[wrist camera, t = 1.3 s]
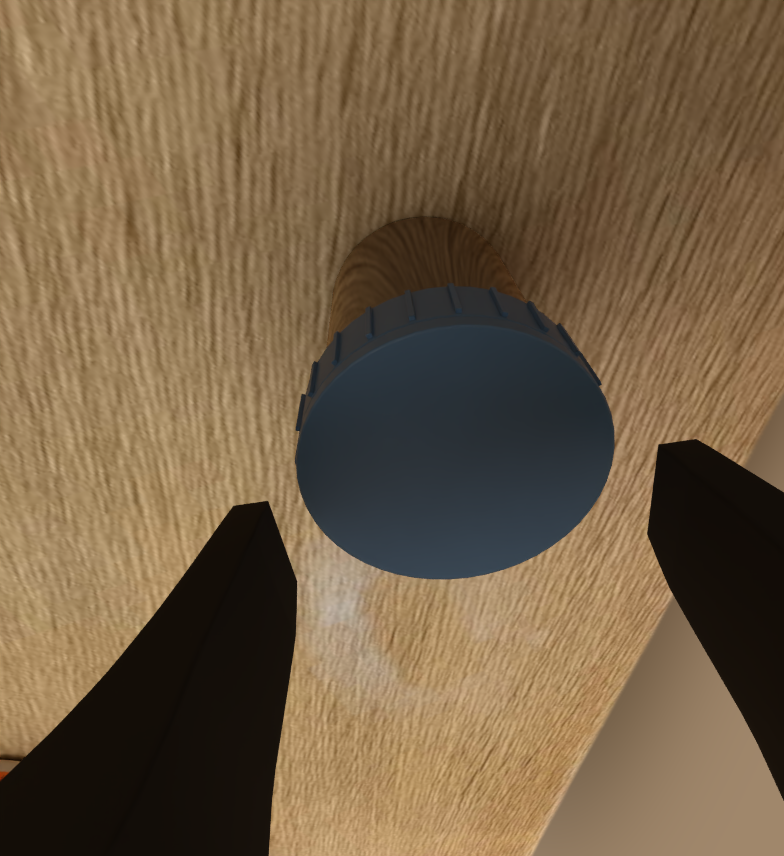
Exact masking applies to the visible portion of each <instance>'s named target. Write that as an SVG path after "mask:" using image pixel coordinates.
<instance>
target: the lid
mask: <svg viewBox="0 0 784 856" xmlns="http://www.w3.org/2000/svg"><path fill="white" fill-rule="evenodd" d="M600 385H602V384H601V381H600V380H599V378H598V377H597V375H596V374H595V372H594V371H593V369H592V368H591V366H590V365H589V363H588V362H587V360H586V359H585V357H584V356H583V354H582V353H581V352H580V351H579V349H578V348H577V346H576V345H575V343H574V342H573V340H572V339H571V337H570V336H569V334H568V333H567V331H566V330H565V328H564V327H563V326H562V325H561V323H559V324H558V325H556V324H555V323H553V322H552V321H551V320H550V319H549V318H548V317H547V316H545V315H544V314H543V313H541V312H540V311H538V309H537V308H536V306H535V305H534V303H533V302H531V301H528V303H525V302H523V301H521V300H519V299H516V298H514V297H512V296H509V295H506V294H503V293H499V292H498V291H497V289H496V288H494V287H490V290H488V289H481V288H475V287H459V286H454V284H453V283H448V285H447V287H437V288H428V289H424V290H419V291H415V292H411V291H410V290H406V291H405V294H404V295H401V296H398V297H396V298H393V299H390V300H388V301H386V302H384V303H382V304H380V305H378V306H376V307H374V308H371V307H370V306H369V307H367V308H366V309H365V313H364V314H363V315H361V316H360V317H358V318H357V319H355V320H354V321H352V322H351V323H350V324H349V325H348V326H347V327H346V328H345V329H344V330H342V331H341V332H340V333H339V332H338V331H336V333H335V334H334V337H333V341H332V342H331V343H330V345H329V346H328V347H327V348H326V350H325V351H324V353H323V355H322V356H321V358H320V359H319V361H318V362H315V361H314V362H313V364H312V369H311V375H310V380H309V384H308V388H307V391H306V395H305V394H302V395H301V401H300V407H299V413H298V419H297V424H296V431H299V438H298V444H297V450H296V456H295V464H296V469H297V479H298V484H299V488H300V493H301V495H302V498H303V500H304V502H305V505H306V507H307V509H308V511H309V513H310V514H311V516H312V518H313V519H314V521H315V522H316V524H317V525H318V526H319V527H320V529H321V530H322V531H323V532H324V533H325V535H326V536H328V537H329V538H330V539H331V540H332V541H333V542H334V543H335V544H336V545H337V546H339V547H340V548H341V549H343V550H344V551H346V552H347V553H348V554H350V555H351V556H353V557H355V558H357V559H359V560H360V561H362V562H364V563H366V564H369V565H371V566H373V567H376V568H378V569H381V570H384V571H388V572H391V573H394V574H398V575H403V576H408V577H414V578H424V579H459V578H469V577H475V576H480V575H486V574H489V573H493V572H497V571H500V570H504V569H507V568H509V567H512V566H515V565H517V564H520V563H522V562H524V561H526V560H528V559H530V558H532V557H535V556H537V555H538V554H540V553H542V552H543V551H545V550H546V549H548V548H550V547H551V546H553V545H554V544H555V543H557V542H558V541H559V540H561V539H562V538H563V537H565V536H566V535H567V534H568V533H569V532H570V531H571V530H572V529H574V528H575V527H576V526H577V525H578V524H579V523H580V522H581V520H582V519H583V518H584V517H585V516H586V515H587V513H588V512H589V511H590V510H591V508H592V507H593V505H594V504H595V502H596V501H597V499H598V497H599V496H600V494H601V492H602V490H603V488H604V486H605V483H606V481H607V478H608V475H609V472H610V469H611V466H612V460H613V454H614V426H613V420H612V415H611V412H610V409H609V406H608V403H607V401H606V398H605V396H604V394H603V393H602V391H601V389H600V387H599V386H600Z"/></svg>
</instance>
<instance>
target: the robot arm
mask: <svg viewBox="0 0 784 856" xmlns="http://www.w3.org/2000/svg"><path fill="white" fill-rule="evenodd" d="M647 535H648V537H649V540H650V542H651V545H652V547H653V550H654V552H655V555H656V557H657V560H658V562H659V565H660V567H661V569H662V572H663V574H664V576H665V579H666V581H667V583H668V586H669V588H670V590H671V591H672V593H673V595H674V597H675V599H676V600H677V602H678V604H679V606H680V607H681V609H682V611H683V613H684V615H685V616H686V618H687V620H688V621H689V623H690V625H691V627H692V628H693V630H694V632H695V634H696V635H697V637H698V639H699V641H700V642H701V644H702V646H703V648H704V649H705V651H706V653H707V655H708V656H709V658H710V659H711V661H712V663H713V665H714V666H715V668H716V670H717V672H718V673H719V675H720V677H721V679H722V680H723V682H724V684H725V686H726V687H727V689H728V691H729V692H730V694H731V696H732V698H733V699H734V701H735V703H736V705H737V706H738V708H739V710H740V711H741V713H742V715H743V717H744V719H745V721H746V723H747V724H748V726H749V728H750V730H751V732H752V734H753V736H754V738H755V740H756V742H757V744H758V746H759V748H760V750H761V752H762V754H763V757H764V758H765V761H766V763H767V765H768V767H769V770H770V772H771V774H772V776H773V778H774V780H775V783H776V785H777V787H778V789H779V791H780V794H781V796H782V798H783V800H784V492H782V491H780V490H779V489H777V488H776V487H774V486H772V485H771V484H769V483H767V482H766V481H764V480H763V479H761V478H759V477H758V476H756V475H755V474H753V473H751V472H750V471H748V470H746V469H745V468H743V467H742V466H740V465H738V464H737V463H735V462H734V461H732V460H730V459H729V458H727V457H726V456H724V455H722V454H721V453H719V452H717V451H716V450H714V449H712V448H711V447H709V446H707V445H706V444H704V443H702V442H700V441H699V440H697V439H694V440H687V441H680V442H673V443H666V444H659V445H658V452H657V460H656V468H655V476H654V484H653V492H652V500H651V508H650V516H649V524H648V532H647ZM296 614H297V580H296V577H295V574H294V572H293V569H292V566H291V563H290V560H289V558H288V555H287V552H286V549H285V547H284V544H283V541H282V538H281V535H280V533H279V530H278V527H277V524H276V521H275V519H274V516H273V513H272V510H271V508H270V505H269V502H268V501H264V502H257V503H250V504H243V505H236V506H233V507H232V509H231V510H230V511H229V513H228V514H227V515H226V517H225V518H224V519H223V521H222V522H221V524H220V525H219V526H218V528H217V529H216V531H215V532H214V533H213V535H212V536H211V538H210V539H209V540H208V542H207V543H206V545H205V546H204V548H203V549H202V550H201V552H200V553H199V555H198V556H197V557H196V559H195V560H194V562H193V563H192V564H191V566H190V567H189V569H188V570H187V571H186V573H185V574H184V576H183V577H182V578H181V580H180V581H179V582H178V584H177V585H176V586H175V588H174V589H173V590H172V592H171V593H170V594H169V596H168V597H167V598H166V600H165V601H164V602H163V604H162V605H161V606H160V608H159V609H158V610H157V612H156V613H155V614H154V616H153V617H152V618H151V619H150V621H149V622H148V623H147V624H146V626H145V627H144V628H143V629H142V630H141V632H140V633H139V634H138V635H137V637H136V638H135V639H134V640H133V642H132V643H131V644H130V645H129V646H128V648H127V649H126V650H125V651H124V653H123V654H122V655H121V656H120V658H119V659H118V660H117V661H116V662H115V664H114V665H113V666H112V667H111V668H110V669H109V670H108V672H107V673H106V674H105V675H104V676H103V677H102V678H101V680H100V681H99V682H98V683H97V684H96V685H95V686H94V687H93V688H92V690H91V691H90V692H89V693H88V694H87V695H86V696H85V697H84V698H83V699H82V700H81V701H80V702H79V703H78V704H77V706H76V707H75V708H74V709H73V710H72V711H71V712H70V713H69V714H68V715H67V716H66V717H65V718H64V719H63V720H62V721H61V722H60V723H59V724H58V726H57V727H56V728H55V729H54V730H53V731H52V732H51V733H50V734H49V735H48V736H47V737H46V738H45V739H44V740H42V741H41V742H40V743H39V744H38V745H37V746H36V747H35V748H34V749H33V750H32V751H31V752H30V753H29V754H28V755H27V756H26V757H25V758H24V759H23V760H22V761H21V762H19V763H18V764H17V765H16V766H15V767H14V768H13V769H12V770H11V771H10V772H9V773H8V774H7V775H6V776H5V777H4V778H3V779H2V780H1V781H0V856H269V840H270V824H271V807H272V795H273V787H274V778H275V769H276V763H277V756H278V750H279V743H280V737H281V730H282V724H283V717H284V711H285V705H286V698H287V692H288V685H289V679H290V672H291V665H292V659H293V652H294V645H295V637H296Z"/></svg>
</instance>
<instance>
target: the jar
mask: <svg viewBox="0 0 784 856" xmlns="http://www.w3.org/2000/svg"><path fill="white" fill-rule="evenodd" d="M448 283H453V284H454V286H459V287H475V288H481V289H488V290H490V287H494V288H496V289H497V291H498V292H499V293H503V294H506V295H509V296H512V297H514V298H516V299H519V300H521V301H523V302H525V303H527V302H526V300H525V298H524V297H523V295H522V293H521V292H520V290H519V288H518V287H517V285H516V283H515V282H514V280H513V278H512V277H511V275H510V273H509V271H508V270H507V268H506V266H505V265H504V263H503V261H502V260H501V258H500V256H499V255H498V253H497V252H496V250H495V249H494V248H493V247H492V246H491V244H490V243H489V242H488V241H487V240H485V239H484V238H483V237H482V236H481V235H480V234H478V233H477V232H475V231H474V230H472V229H471V228H469V227H467V226H465V225H462V224H460V223H458V222H455V221H451V220H448V219H443V218H437V217H415V218H408V219H404V220H399V221H396V222H393V223H391V224H388V225H385V226H384V227H382V228H380V229H378V230H376V231H374V232H373V233H372V234H370V235H369V236H367V237H366V238H365V239H363V240H362V241H361V242H360V243H359V244H358V245H357V246H356V247H355V248H354V249H353V251H352V252H351V253H350V254H349V256H348V257H347V259H346V260H345V262H344V264H343V265H342V267H341V269H340V271H339V274H338V276H337V278H336V282H335V286H334V289H333V297H332V305H331V314H330V322H329V331H328V339H327V347H328V346H329V345H330V343H331V342H332V341H333V337H334V334H335V333H336V331H338V332H339V333H340V332H341V331H342V330H344V329H345V328H346V327H347V326H348V325H349V324H350V323H351V322H352V321H354V320H355V319H357V318H358V317H360V316H361V315H363V314H364V313H365V309H366V308H367V307H369V306H370V307H371V308H374V307H376V306H378V305H380V304H382V303H384V302H386V301H388V300H390V299H393V298H396V297H398V296H401V295H404V294H405V291H406V290H410V291H411V292H415V291H419V290H424V289H428V288H437V287H447V285H448Z"/></svg>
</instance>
